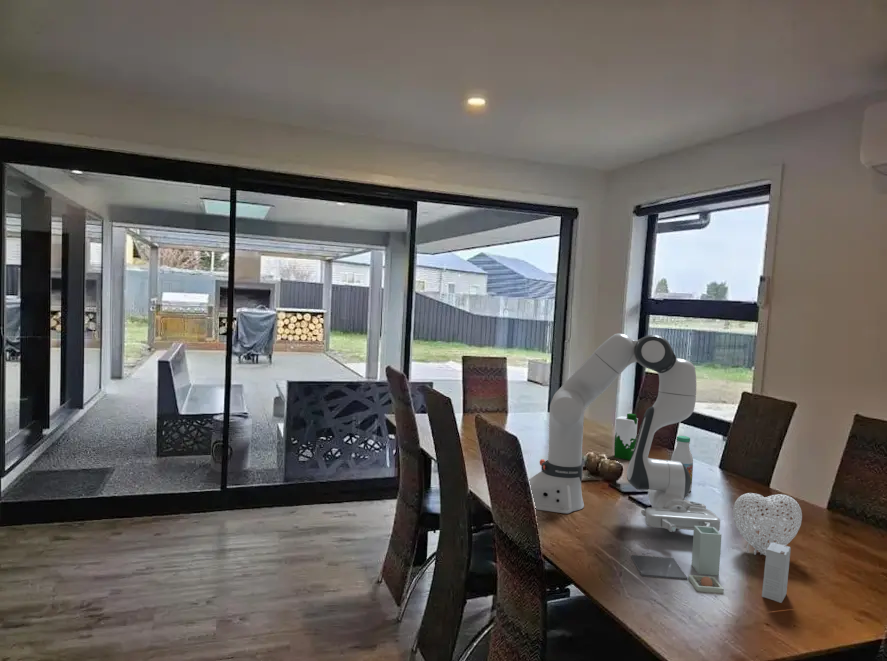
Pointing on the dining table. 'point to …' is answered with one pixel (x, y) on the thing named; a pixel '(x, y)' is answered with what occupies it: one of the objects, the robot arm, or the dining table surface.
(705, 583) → the terracotta ball
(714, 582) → the sage dish
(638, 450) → the robot arm
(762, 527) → the decorative heart
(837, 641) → the dining table surface
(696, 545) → the celadon tumbler
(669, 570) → the slate coaster
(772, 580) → the skincare box
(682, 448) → the milk bottle
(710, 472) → the dining table surface
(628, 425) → the milk carton
